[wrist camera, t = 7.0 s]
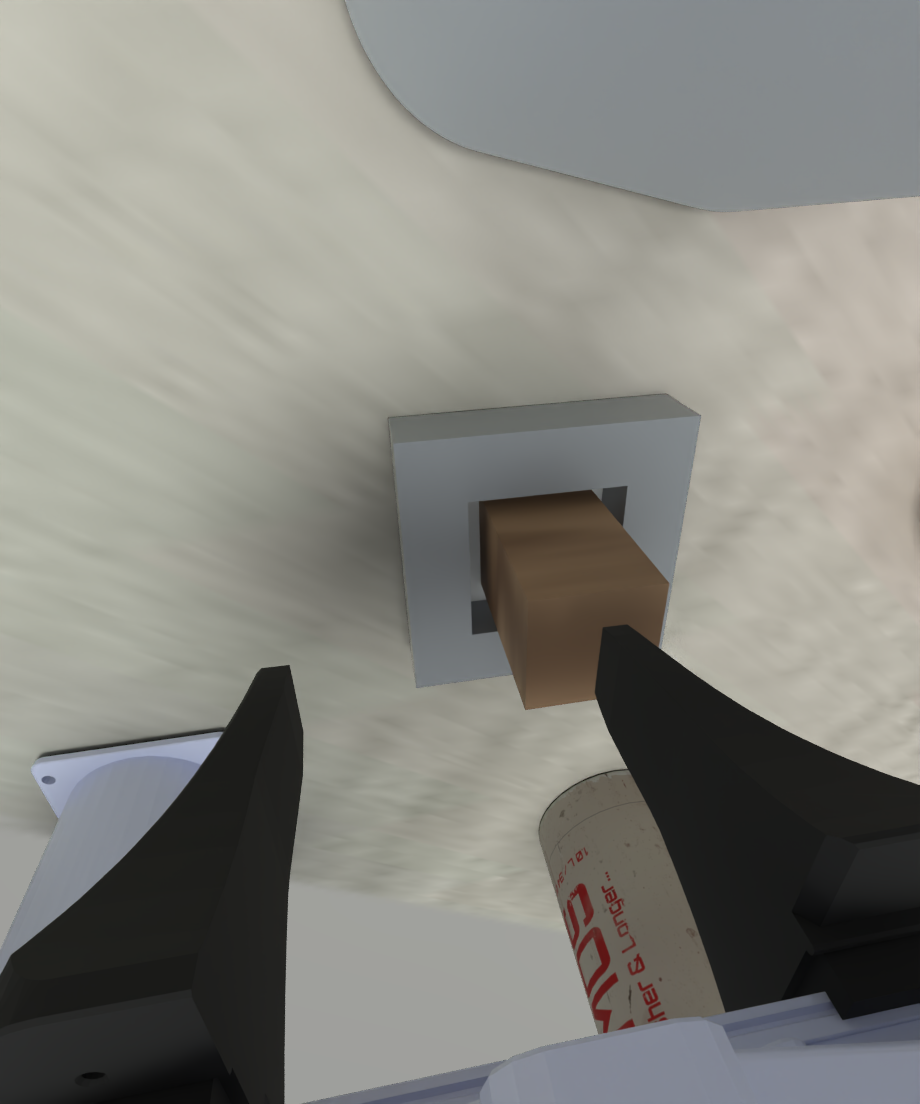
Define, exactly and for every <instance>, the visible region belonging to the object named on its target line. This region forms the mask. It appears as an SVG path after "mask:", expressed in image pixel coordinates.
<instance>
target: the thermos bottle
mask: <svg viewBox="0 0 920 1104" xmlns="http://www.w3.org/2000/svg"><path fill="white" fill-rule="evenodd" d="M539 838H540V843H541V847H542V850H543V853H544V857H545V860H546V863H547V866H548V870H549V873H550V876H551V880H552V883H553V886H554V889H555V893H556V896H557V899H558V903H559V906H560V909H561V913H562V916H563V919H564V922H565V926H566V929H567V932H568V936H569V939H570V942H571V945H572V948H573V952H574V955H575V959H576V962H577V965H578V968H579V972H580V975H581V978H582V982H583V985H584V988H585V991H586V995H587V998H588V1001H589V1005H590V1008H591V1011H592V1014H593V1018H594V1021H595V1024H596V1028H597V1031H598V1034H603V1033H608V1032H613V1031H617V1030H622V1029H627V1028H631V1027H636V1026H641V1025H646V1024H650V1023H655V1022H660V1021H664V1020H669V1019H674V1018H685V1017H698V1016H699V1017H702V1018H704V1017H708V1016H713V1015H718V1014H722V1013H725V1010H724V1006H723V1003H722V1000H721V997H720V994H719V991H718V988H717V985H716V982H715V978H714V975H713V972H712V969H711V966H710V963H709V960H708V957H707V955H706V952H705V949H704V946H703V943H702V940H701V937H700V935H699V932H698V929H697V926H696V923H695V920H694V917H693V915H692V912H691V909H690V907H689V904H688V901H687V899H686V896H685V893H684V891H683V888H682V885H681V883H680V880H679V878H678V875H677V872H676V870H675V867H674V865H673V862H672V860H671V857H670V855H669V852H668V850H667V847H666V845H665V842H664V840H663V837H662V835H661V833H660V830H659V828H658V826H657V824H656V822H655V820H654V818H653V816H652V813H651V811H650V810H649V808H648V806H647V804H646V802H645V800H644V798H643V796H642V794H641V792H640V791H639V789H638V787H637V785H636V783H635V781H634V779H633V777H632V775H631V773H630V772H629V770H623V771H613V772H609V773H605V774H601V775H598V776H595V777H592V778H589V779H587V780H585V781H583V782H581V783H579V784H577V785H575V786H573V787H572V788H570V789H569V790H567V791H566V792H565V793H563V794H562V795H561V796H560V797H558V798H557V799H556V800H555V801H554V802H553V803H552V804H551V806H550V807H549V808H548V810H547V811H546V812H545V814H544V816H543V819H542V821H541V824H540V829H539Z"/></svg>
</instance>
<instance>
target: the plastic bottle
mask: <svg viewBox="0 0 920 1104" xmlns="http://www.w3.org/2000/svg"><path fill="white" fill-rule="evenodd" d="M345 3H346V6H347V9H348V12H349V15H350V18H351V21H352V24H353V26H354V28H355V31H356V33H357V35H358V38H359V40H360V42H361V44H362V46H363V48H364V50H365V52H366V54H367V56H368V58H369V60H370V62H371V63H372V65H373V66H374V68H375V70H376V71H377V73H378V74H379V76H380V78H381V79H382V80H383V82H384V83H385V84H386V86H387V87H388V88H389V90H390V91H391V92H392V94H393V95H394V96H395V97H396V98H397V99H398V100H399V102H400V103H401V104H402V105H403V106H404V107H405V108H406V109H407V110H408V111H409V112H410V113H411V114H412V115H413V116H415V117H416V118H417V119H418V120H419V121H420V122H421V123H423V124H424V125H426V126H427V127H428V128H430V129H431V130H432V131H434V132H435V133H437V134H439V135H440V136H442V137H444V138H445V139H447V140H449V141H451V142H453V143H455V144H458V145H460V146H462V147H465V148H468V149H471V150H475V151H478V152H482V153H485V154H489V155H493V156H497V157H501V158H505V159H509V160H512V161H516V162H520V163H524V164H528V165H532V166H536V167H539V168H543V169H547V170H551V171H555V172H559V173H563V174H566V175H570V176H574V177H578V178H582V179H586V180H590V181H593V182H597V183H601V184H605V185H609V186H613V187H617V188H621V189H624V190H628V191H632V192H636V193H640V194H644V195H648V196H651V197H655V198H659V199H663V200H667V201H671V202H675V203H678V204H682V205H686V206H690V207H694V208H698V209H703V210H708V211H717V212H736V211H749V210H761V209H773V208H785V207H796V206H808V205H820V204H832V203H844V202H856V201H868V200H880V199H892V198H903V197H915V196H920V0H345Z"/></svg>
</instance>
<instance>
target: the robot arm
mask: <svg viewBox="0 0 920 1104" xmlns="http://www.w3.org/2000/svg"><path fill="white" fill-rule="evenodd" d="M595 695H596V698H597V701H598V704H599V707H600V710H601V712H602V715H603V718H604V720H605V723H606V726H607V728H608V731H609V733H610V735H611V737H612V739H613V741H614V743H615V745H616V747H617V749H618V751H619V752H620V754H621V756H622V758H623V760H624V762H625V764H626V766H627V768H628V770H629V772H630V773H631V775H632V777H633V779H634V781H635V783H636V785H637V787H638V789H639V791H640V792H641V794H642V796H643V798H644V800H645V802H646V804H647V806H648V808H649V810H650V811H651V813H652V816H653V818H654V820H655V822H656V824H657V826H658V828H659V830H660V833H661V835H662V837H663V840H664V842H665V845H666V847H667V850H668V852H669V855H670V857H671V860H672V862H673V865H674V867H675V870H676V872H677V875H678V878H679V880H680V883H681V885H682V888H683V891H684V893H685V896H686V899H687V901H688V904H689V907H690V909H691V912H692V915H693V917H694V920H695V923H696V926H697V929H698V932H699V935H700V937H701V940H702V943H703V946H704V949H705V952H706V955H707V957H708V960H709V963H710V966H711V969H712V972H713V975H714V978H715V982H716V985H717V988H718V991H719V994H720V997H721V1000H722V1003H723V1006H724V1010H725V1013H722V1014H718V1015H713V1016H708V1017H704V1018H702V1017H699V1016H698V1017H685V1018H674V1019H669V1020H664V1021H660V1022H655V1023H650V1024H646V1025H641V1026H636V1027H631V1028H627V1029H622V1030H617V1031H613V1032H608V1033H603V1034H599V1035H594V1036H589V1037H585V1038H580V1039H575V1040H571V1041H566V1042H561V1043H556V1044H552V1045H547V1046H543V1047H539V1048H536V1049H533V1050H530V1051H527V1052H524V1053H522V1054H518V1055H515V1056H513V1057H511V1058H510V1059H508V1060H503V1061H499V1062H494V1063H490V1064H485V1065H480V1066H476V1067H471V1068H466V1069H461V1070H457V1071H452V1072H448V1073H443V1074H438V1075H434V1076H429V1077H424V1078H420V1079H415V1080H410V1081H405V1082H401V1083H396V1084H392V1085H387V1086H382V1087H377V1088H373V1089H368V1090H364V1091H359V1092H354V1093H350V1094H345V1095H340V1096H335V1097H331V1098H326V1099H321V1100H317V1101H312V1102H307V1103H303V1104H920V785H918V784H915V783H912V782H909V781H906V780H903V779H899V778H896V777H893V776H890V775H888V774H885V773H882V772H879V771H877V770H874V769H872V768H869V767H867V766H864V765H862V764H859V763H857V762H854V761H851V760H849V759H847V758H844V757H842V756H840V755H837V754H835V753H833V752H830V751H828V750H826V749H824V748H821V747H819V746H817V745H815V744H813V743H811V742H809V741H807V740H804V739H802V738H800V737H798V736H796V735H794V734H792V733H790V732H788V731H786V730H784V729H782V728H780V727H778V726H777V725H775V724H773V723H771V722H769V721H768V720H766V719H764V718H762V717H760V716H759V715H757V714H755V713H753V712H751V711H750V710H748V709H746V708H745V707H743V706H741V705H740V704H738V703H737V702H735V701H733V700H732V699H730V698H729V697H727V696H726V695H724V694H723V693H721V692H720V691H718V690H716V689H715V688H713V687H712V686H710V685H709V684H708V683H706V682H705V681H703V680H702V679H700V678H699V677H697V676H696V675H695V674H693V673H692V672H690V671H689V670H688V669H686V668H685V667H684V666H682V665H681V664H680V663H678V662H677V661H675V660H674V659H673V658H671V657H670V656H669V655H668V654H666V653H665V652H664V651H662V650H661V649H660V648H658V647H657V646H656V645H654V644H653V643H652V642H650V641H649V640H648V639H647V638H645V637H644V636H643V635H641V634H640V633H639V632H637V631H636V630H635V629H633V628H632V627H630V626H629V625H628V624H626V625H617V626H609V627H603V629H602V637H601V645H600V652H599V660H598V668H597V676H596V684H595ZM31 773H32V775H33V776H34V778H35V780H36V782H37V783H38V785H39V787H40V788H41V790H42V792H43V794H44V795H45V797H46V799H47V800H48V802H49V804H50V806H51V807H52V809H53V811H54V812H55V814H56V816H57V818H58V819H59V820H58V822H57V824H56V827H55V829H54V831H53V833H52V836H51V838H50V840H49V842H48V845H47V847H46V849H45V851H44V853H43V856H42V858H41V860H40V863H39V865H38V867H37V869H36V871H35V874H34V876H33V878H32V880H31V882H30V885H29V887H28V889H27V892H26V894H25V896H24V898H23V900H22V902H21V905H20V907H19V909H18V911H17V914H16V916H15V918H14V920H13V922H12V925H11V927H10V929H9V931H8V934H7V936H6V938H5V940H4V943H3V945H2V947H1V949H0V1104H284V1046H285V1043H284V1042H285V980H286V940H287V912H288V889H289V879H290V869H291V862H292V854H293V847H294V839H295V832H296V824H297V817H298V809H299V801H300V793H301V786H302V777H303V728H302V723H301V718H300V713H299V708H298V704H297V699H296V694H295V689H294V684H293V679H292V675H291V670H290V665H286V666H278V667H269V668H261V669H260V670H259V671H258V672H257V674H256V676H255V678H254V680H253V682H252V684H251V685H250V687H249V689H248V691H247V693H246V695H245V697H244V698H243V700H242V702H241V704H240V705H239V707H238V709H237V711H236V712H235V714H234V716H233V717H232V719H231V721H230V722H229V724H228V725H227V727H226V729H225V730H224V732H214V733H207V734H200V735H193V736H186V737H179V738H172V739H165V740H158V741H152V742H145V743H138V744H131V745H124V746H117V747H110V748H103V749H96V750H89V751H82V752H75V753H68V754H61V755H54V756H47V757H42V758H38V759H37V760H36V761H35V762H34V764H33V766H32V768H31ZM51 776H52V777H51Z"/></svg>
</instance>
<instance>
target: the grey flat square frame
mask: <svg viewBox="0 0 920 1104" xmlns="http://www.w3.org/2000/svg"><path fill="white" fill-rule="evenodd" d="M700 419H701V415H699V414H698V413H696V412H695V411H693V410H691V409H690V408H688V407H687V406H685V405H684V404H682V403H680V402H679V401H677V400H676V399H674V398H672V397H671V396H669V395H668V394H658V395H646V396H635V397H623V398H612V399H600V400H588V401H577V402H565V403H554V404H542V405H530V406H519V407H507V408H496V409H484V410H472V411H461V412H449V413H438V414H426V415H414V416H403V417H391V418H388V423H389V433H390V444H391V454H392V464H393V474H394V485H395V495H396V505H397V515H398V526H399V536H400V546H401V556H402V567H403V577H404V587H405V597H406V608H407V618H408V628H409V638H410V648H411V655H412V661H413V668H414V675H415V682H416V688H420V687H427V686H435V685H442V684H449V683H456V682H463V681H470V680H477V679H484V678H491V677H498V676H506V675H513V673H512V671H511V668H510V665H509V662H508V659H507V656H506V654H505V651H504V648H503V645H502V642H501V639H500V636H499V634H498V631H497V628H496V625H495V622H494V619H493V617H492V614H491V611H490V608H489V605H488V602H487V600H486V597H485V594H484V591H483V588H482V585H481V574H480V529H479V501H487V500H496V499H506V498H516V497H525V496H535V495H544V494H554V493H563V492H573V491H582V490H592V491H593V492H594V493H595V494H596V495H597V497H598V498H599V499H600V500H601V501H602V503H603V504H604V505H605V506H606V507H607V509H608V510H609V511H610V512H611V513H612V515H613V516H614V517H615V518H616V519H617V521H618V522H619V523H620V524H621V525H622V527H623V528H624V529H625V530H626V532H627V533H628V534H629V535H630V536H631V538H632V539H633V540H634V541H635V542H636V544H637V545H638V546H639V547H640V548H641V550H642V551H643V552H644V553H645V554H646V556H647V557H648V558H649V559H650V560H651V562H652V563H653V564H654V565H655V566H656V568H657V569H658V570H659V571H660V572H661V574H662V575H663V576H664V577H665V578H666V580H667V581H668V582H669V589H668V595H667V601H666V607H665V613H664V619H663V625H662V631H661V637H660V643H659V648H660V649H661V647H662V641H663V635H664V629H665V623H666V617H667V612H668V606H669V600H670V594H671V588H672V582H673V576H674V571H675V565H676V559H677V553H678V547H679V541H680V536H681V530H682V524H683V518H684V512H685V506H686V501H687V495H688V489H689V483H690V477H691V471H692V466H693V460H694V454H695V448H696V442H697V436H698V430H699V425H700Z"/></svg>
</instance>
